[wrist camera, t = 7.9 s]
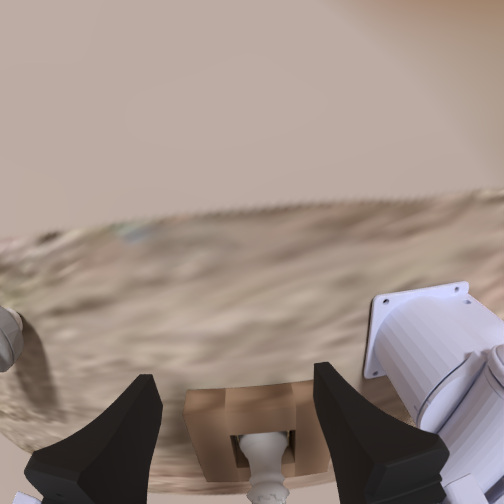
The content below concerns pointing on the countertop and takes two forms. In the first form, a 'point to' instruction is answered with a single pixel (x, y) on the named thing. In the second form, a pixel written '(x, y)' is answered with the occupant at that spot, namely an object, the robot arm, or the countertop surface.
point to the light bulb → (10, 338)
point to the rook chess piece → (265, 466)
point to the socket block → (254, 428)
